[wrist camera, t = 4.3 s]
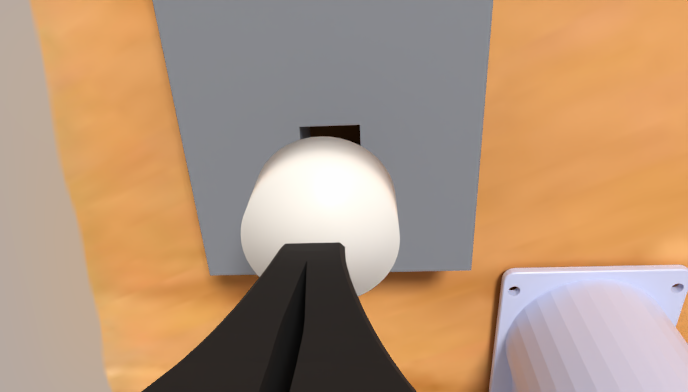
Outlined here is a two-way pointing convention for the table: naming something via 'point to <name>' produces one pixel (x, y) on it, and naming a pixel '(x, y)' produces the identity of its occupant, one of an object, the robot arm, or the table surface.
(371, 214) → the cream knob
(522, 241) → the table surface
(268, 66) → the knob mount
